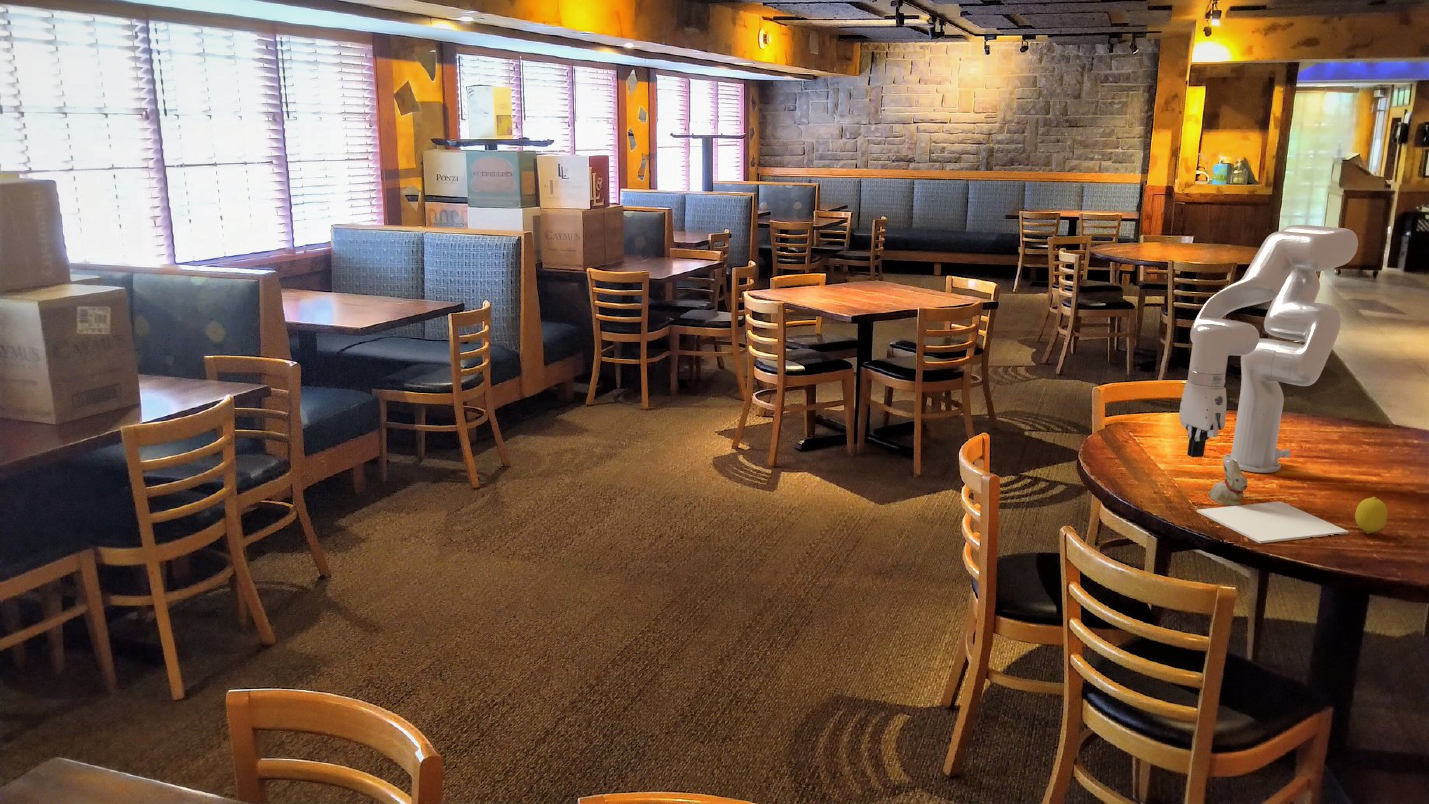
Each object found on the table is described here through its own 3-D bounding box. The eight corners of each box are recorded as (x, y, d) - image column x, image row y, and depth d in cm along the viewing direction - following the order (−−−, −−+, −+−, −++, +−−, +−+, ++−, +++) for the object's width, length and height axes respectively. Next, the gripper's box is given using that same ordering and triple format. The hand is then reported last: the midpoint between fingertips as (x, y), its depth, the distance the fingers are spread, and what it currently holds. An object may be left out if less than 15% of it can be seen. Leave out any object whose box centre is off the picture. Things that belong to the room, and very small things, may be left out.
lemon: (1346, 528, 214) (1352, 492, 212) (1371, 528, 215) (1377, 492, 213) (1364, 539, 209) (1371, 502, 207) (1390, 538, 210) (1397, 501, 208)
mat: (1280, 503, 229) (1280, 501, 228) (1348, 533, 212) (1348, 531, 212) (1196, 511, 223) (1196, 509, 223) (1259, 543, 206) (1260, 541, 206)
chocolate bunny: (1220, 507, 226) (1226, 464, 223) (1205, 495, 233) (1211, 453, 231) (1246, 508, 226) (1252, 464, 223) (1230, 495, 233) (1236, 453, 231)
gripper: (1244, 385, 227) (1232, 464, 232) (1196, 370, 241) (1186, 445, 246) (1215, 387, 225) (1204, 467, 230) (1169, 372, 239) (1159, 447, 244)
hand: (1195, 455), depth 238 cm, fingers closed
